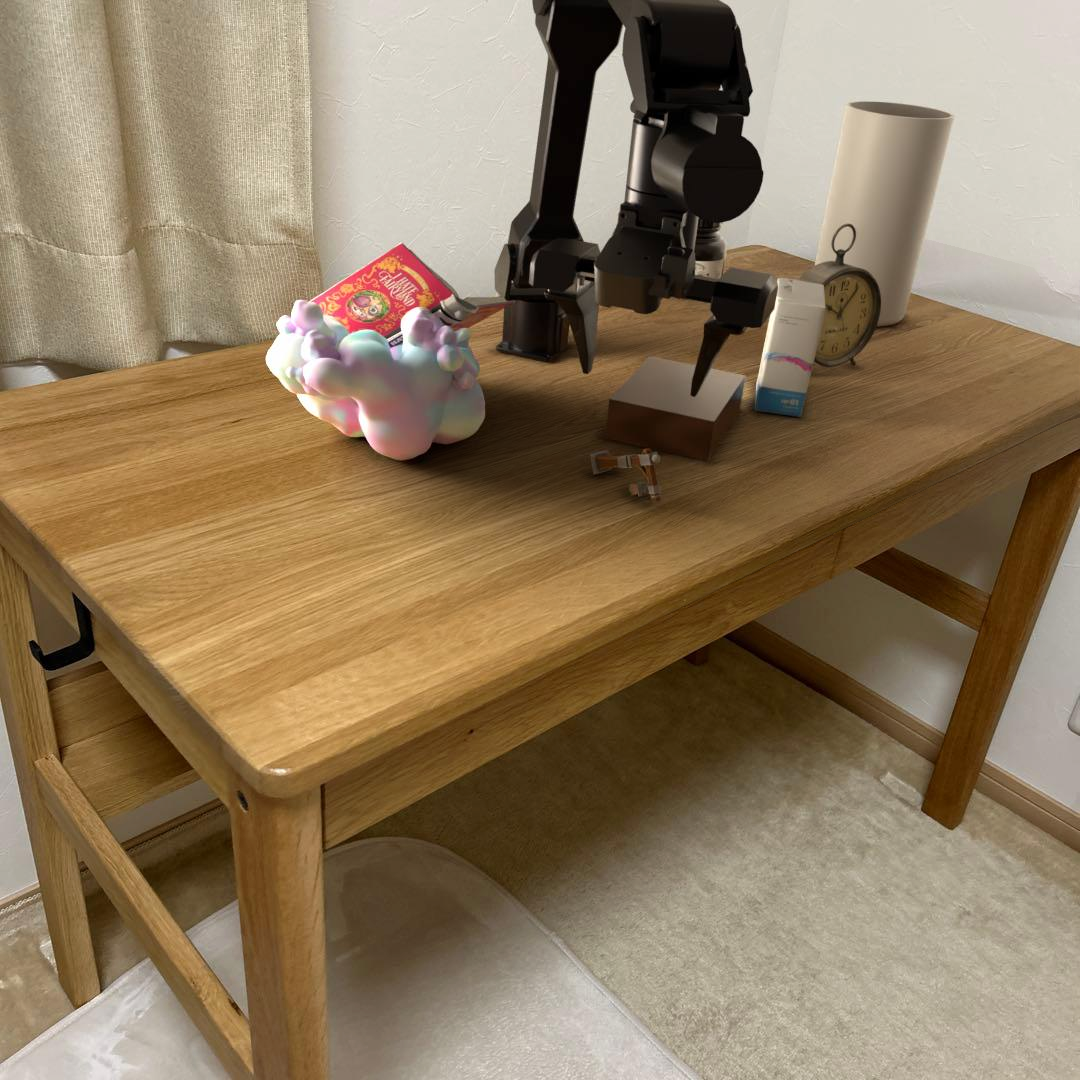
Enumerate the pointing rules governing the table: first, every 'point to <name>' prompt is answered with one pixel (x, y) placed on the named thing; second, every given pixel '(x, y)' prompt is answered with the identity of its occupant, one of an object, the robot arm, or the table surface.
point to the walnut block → (674, 409)
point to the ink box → (790, 347)
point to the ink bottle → (709, 249)
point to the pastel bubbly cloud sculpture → (387, 356)
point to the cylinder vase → (885, 193)
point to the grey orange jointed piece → (647, 458)
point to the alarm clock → (844, 307)
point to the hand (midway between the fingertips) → (639, 383)
